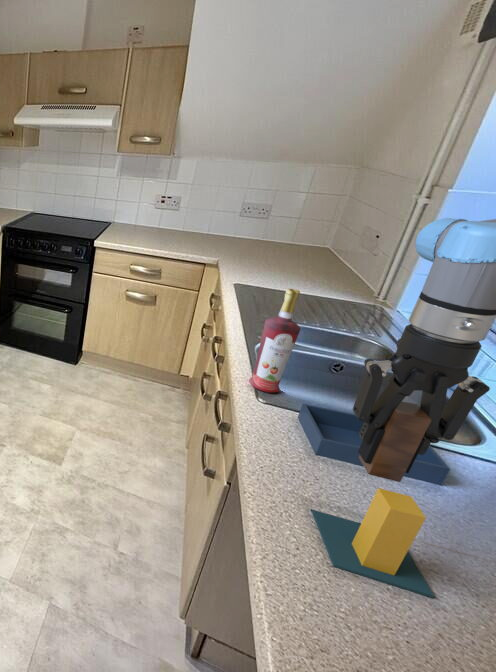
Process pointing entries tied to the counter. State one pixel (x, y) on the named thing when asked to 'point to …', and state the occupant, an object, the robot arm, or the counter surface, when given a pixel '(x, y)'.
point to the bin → (358, 442)
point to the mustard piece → (387, 531)
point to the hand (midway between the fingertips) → (382, 461)
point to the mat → (344, 557)
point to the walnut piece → (398, 442)
